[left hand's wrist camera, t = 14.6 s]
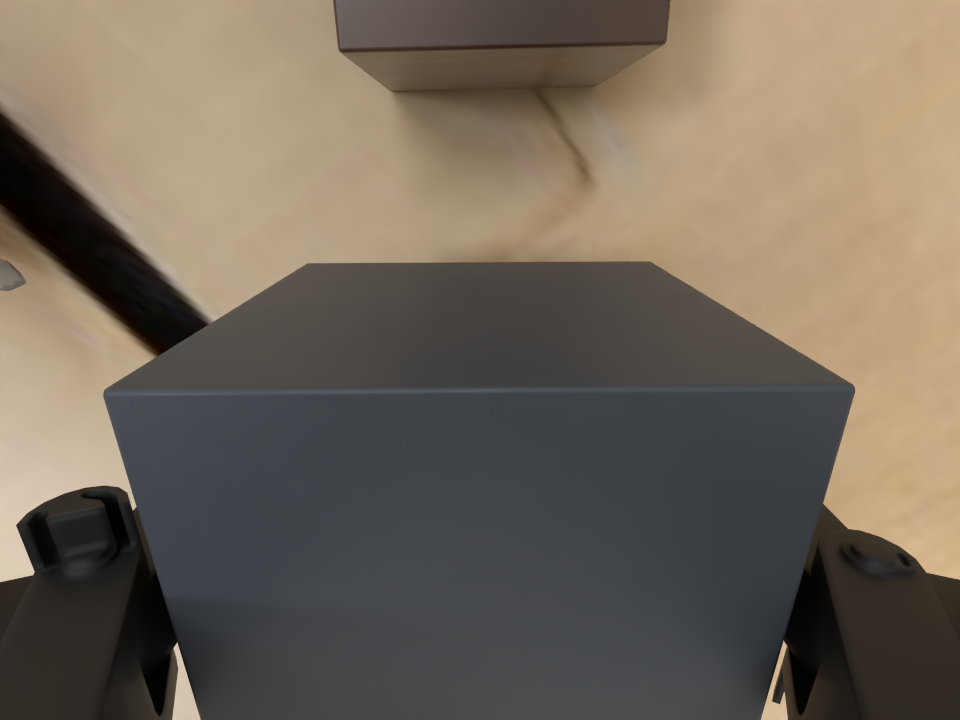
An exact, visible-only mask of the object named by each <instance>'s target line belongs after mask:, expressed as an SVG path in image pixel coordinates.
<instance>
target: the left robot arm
mask: <svg viewBox="0 0 960 720" xmlns="http://www.w3.org/2000/svg"><path fill="white" fill-rule="evenodd" d="M16 526H17V528H18V531H19V533H20V536H21V538H22V541H23V543H24V546H25V548H26V551H27V553H28V556H29V558H30V561H31V563H32V566H33V568H34V571H35V573H34V575H32V576H28V577H23V578H18V579H14V580H9V581H4V582H0V720H172V716H173V707H174V699H175V690H176V682H177V673H178V666H177V659H176V655H175V652H174V649H173V648H174V646H175V645H176V643H177V639H176V635H175V632H174V629H173V625H172V622H171V619H170V615H169V612H168V609H167V605H166V602H165V599H164V596H163V592H162V589H161V586H160V582H159V579H158V576H157V572H156V569H155V566H154V562H153V559H152V556H151V552H150V549H149V546H148V542H147V539H146V536H145V532H144V529H143V526H142V522H141V519H140V516H139V513H138V509H137V507H136V508H135V509H134V510H133V511H132V507H131V504H130V501H129V497H128V494H127V492H125V491H124V490H122V489H121V488H119V487H111V486H97V487H88V488H83V489H80V490H76V491H72V492H69V493H65V494H63V495H60V496H58V497H56V498H53V499H51V500H49V501H47V502H44V503H43V504H41V505H40V506H38V507H36V508H35V509H33V510H32V511H30V512H29V513H27V514H26V515H25V516H24V517H23V518H22V520H21V521H20V522H19V523H18V524H17V525H16ZM784 641H785V643H786V645H787V649H786V652H785V655H784V659H783V662H782V665H781V669H780V672H779V676H778V679H777V682H776V686H775V689H774V694H773V700H772V702H775V703H778V704H780V702H781V699H782V696H783V693H784V692H785V697H786V705H787V714H788V720H960V580H958V579H953V578H948V577H943V576H939V575H934V574H929V573H926V572H925V570H924V569H923V568H922V566H921V565H920V564H919V563H918V561H917V560H916V559H915V558H914V557H912V556H911V555H910V554H908V553H907V552H906V551H904V550H903V549H902V548H900V547H899V546H897V545H895V544H893V543H891V542H889V541H887V540H885V539H883V538H881V537H878V536H875V535H872V534H869V533H866V532H863V531H859V530H851V529H847V528H846V527H845V526H844V525H843V524H842V523H841V522H840V520H839V519H838V518H837V517H836V516H835V515H834V514H833V513H832V512H831V511H830V510H829V509H828V508H827V507H826V506H825V505H824V504H823V505H822V508H821V512H820V515H819V518H818V522H817V525H816V529H815V532H814V536H813V539H812V543H811V546H810V550H809V553H808V557H807V560H806V564H805V567H804V571H803V574H802V578H801V581H800V584H799V588H798V591H797V595H796V598H795V602H794V605H793V609H792V612H791V616H790V619H789V623H788V626H787V630H786V633H785V637H784Z"/></svg>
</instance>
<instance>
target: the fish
mask: <svg viewBox="0 0 960 720" xmlns="http://www.w3.org/2000/svg"><path fill="white" fill-rule="evenodd" d="M25 283H26V281H25V279H24V278H23V276H22V275H21V273H20V272H19V271H18V270H17V269H16V268H15V267H14V266H13V265H12V264H11V263H10V262H9V261H7V260H4V259H1V258H0V290H5V291H10V290H12V289H15V288H17V287H19V286H21V285H23V284H25Z"/></svg>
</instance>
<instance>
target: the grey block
mask: <svg viewBox="0 0 960 720" xmlns="http://www.w3.org/2000/svg"><path fill="white" fill-rule="evenodd" d="M854 393H855V387H854V385H853V384H851V383H849V382H848V381H846V380H844V379H843V378H841V377H840V376H838V375H836V374H835V373H833V372H831V371H830V370H828V369H826V368H825V367H823V366H821V365H820V364H818V363H816V362H815V361H813V360H811V359H810V358H808V357H807V356H805V355H803V354H802V353H800V352H798V351H797V350H795V349H793V348H792V347H790V346H788V345H787V344H785V343H783V342H782V341H780V340H778V339H777V338H775V337H774V336H772V335H770V334H769V333H767V332H765V331H764V330H762V329H760V328H759V327H757V326H755V325H754V324H752V323H750V322H749V321H747V320H745V319H744V318H742V317H741V316H739V315H737V314H736V313H734V312H732V311H731V310H729V309H727V308H726V307H724V306H722V305H721V304H719V303H717V302H716V301H714V300H712V299H711V298H709V297H707V296H706V295H704V294H703V293H701V292H699V291H698V290H696V289H694V288H693V287H691V286H689V285H688V284H686V283H684V282H683V281H681V280H679V279H678V278H676V277H674V276H673V275H671V274H670V273H668V272H666V271H665V270H663V269H661V268H660V267H658V266H656V265H655V264H653V263H651V262H494V263H317V264H306V265H304V266H303V267H301V268H299V269H298V270H296V271H295V272H293V273H291V274H290V275H288V276H287V277H285V278H283V279H282V280H280V281H279V282H277V283H275V284H274V285H272V286H271V287H269V288H267V289H266V290H264V291H262V292H261V293H259V294H258V295H256V296H254V297H253V298H251V299H250V300H248V301H246V302H245V303H243V304H242V305H240V306H238V307H237V308H235V309H234V310H232V311H230V312H229V313H227V314H225V315H224V316H222V317H221V318H219V319H217V320H216V321H214V322H213V323H211V324H209V325H208V326H206V327H205V328H203V329H201V330H200V331H198V332H197V333H195V334H193V335H192V336H190V337H188V338H187V339H185V340H184V341H182V342H180V343H179V344H177V345H176V346H174V347H172V348H171V349H169V350H168V351H166V352H164V353H163V354H161V355H160V356H158V357H156V358H155V359H153V360H151V361H150V362H148V363H147V364H145V365H143V366H142V367H140V368H139V369H137V370H135V371H134V372H132V373H131V374H129V375H127V376H126V377H124V378H122V379H121V380H119V381H118V382H116V383H114V384H113V385H111V386H110V387H108V388H106V389H105V391H104V395H103V396H104V400H105V403H106V406H107V410H108V413H109V416H110V420H111V423H112V426H113V430H114V433H115V436H116V439H117V443H118V446H119V449H120V453H121V456H122V459H123V463H124V466H125V469H126V473H127V476H128V479H129V483H130V486H131V489H132V493H133V496H134V499H135V503H136V506H137V509H138V513H139V516H140V519H141V522H142V526H143V529H144V532H145V536H146V539H147V542H148V546H149V549H150V552H151V556H152V559H153V562H154V566H155V569H156V572H157V576H158V579H159V582H160V586H161V589H162V592H163V596H164V599H165V602H166V605H167V609H168V612H169V615H170V619H171V622H172V625H173V629H174V632H175V635H176V639H177V642H178V645H179V649H180V652H181V655H182V659H183V662H184V665H185V669H186V672H187V675H188V679H189V682H190V685H191V689H192V692H193V695H194V698H195V702H196V705H197V708H198V712H199V715H200V718H201V720H761V716H762V713H763V710H764V706H765V703H766V699H767V696H768V692H769V689H770V685H771V682H772V678H773V675H774V671H775V668H776V664H777V661H778V657H779V654H780V650H781V647H782V644H783V640H784V637H785V633H786V630H787V626H788V623H789V619H790V616H791V612H792V609H793V605H794V602H795V598H796V595H797V591H798V588H799V584H800V581H801V578H802V574H803V571H804V567H805V564H806V560H807V557H808V553H809V550H810V546H811V543H812V539H813V536H814V532H815V529H816V525H817V522H818V518H819V515H820V512H821V508H822V505H823V501H824V498H825V494H826V491H827V487H828V484H829V480H830V477H831V473H832V470H833V466H834V463H835V459H836V456H837V452H838V449H839V446H840V442H841V439H842V435H843V432H844V428H845V425H846V421H847V418H848V414H849V411H850V407H851V404H852V400H853V397H854Z"/></svg>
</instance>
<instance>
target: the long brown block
mask: <svg viewBox="0 0 960 720" xmlns="http://www.w3.org/2000/svg"><path fill="white" fill-rule="evenodd" d="M333 3H334V12H335V22H336V31H337V40H338V49H339V51H340V52H341V53H342V54H343V55H345V56H346V57H347V58H348V59H350V60H351V61H352V62H354V63H355V64H356V65H357V66H359V67H360V68H361V69H363V70H364V71H365V72H367V73H368V74H369V75H370V76H372V77H373V78H374V79H376V80H377V81H378V82H379V83H381V84H382V85H383V86H385V87H386V88H387V89H389V90H390V91H430V90H471V89H512V88H552V87H593V86H596V85H598V84H599V83H601V82H603V81H604V80H606V79H608V78H609V77H611V76H613V75H614V74H616V73H618V72H619V71H621V70H623V69H624V68H626V67H628V66H629V65H631V64H633V63H634V62H636V61H637V60H639V59H641V58H642V57H644V56H646V55H647V54H649V53H651V52H652V51H654V50H656V49H657V48H659V47H661V46H662V45H664V44H665V43H666V40H667V29H668V19H669V8H670V0H333Z"/></svg>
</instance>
